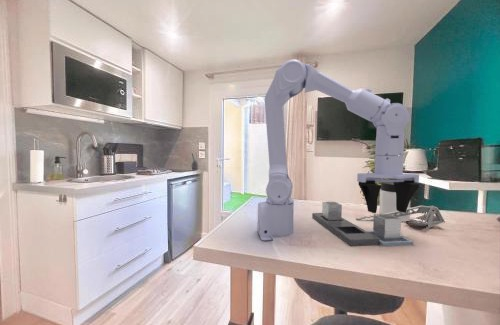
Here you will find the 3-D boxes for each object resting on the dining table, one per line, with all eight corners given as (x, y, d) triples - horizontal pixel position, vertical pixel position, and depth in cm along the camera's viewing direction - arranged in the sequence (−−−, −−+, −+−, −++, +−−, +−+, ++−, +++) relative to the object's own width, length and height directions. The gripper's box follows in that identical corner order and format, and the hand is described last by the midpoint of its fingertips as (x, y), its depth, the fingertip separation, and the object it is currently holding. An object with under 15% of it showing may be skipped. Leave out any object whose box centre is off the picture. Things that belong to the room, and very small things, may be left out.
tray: (382, 250, 50) (382, 242, 50) (362, 238, 57) (362, 231, 57) (413, 249, 51) (413, 241, 50) (389, 236, 58) (389, 230, 58)
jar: (395, 214, 79) (396, 181, 79) (415, 221, 71) (417, 184, 71) (373, 215, 78) (374, 181, 77) (391, 222, 70) (392, 185, 69)
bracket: (445, 223, 63) (429, 191, 64) (372, 249, 68) (357, 219, 68) (438, 220, 66) (423, 189, 67) (368, 245, 71) (354, 217, 71)
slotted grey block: (328, 225, 64) (328, 204, 63) (322, 221, 68) (322, 201, 67) (341, 225, 64) (341, 204, 64) (334, 221, 68) (335, 201, 68)
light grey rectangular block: (384, 244, 52) (385, 218, 51) (373, 238, 56) (373, 213, 55) (400, 244, 52) (401, 217, 52) (387, 237, 56) (388, 213, 56)
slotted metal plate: (350, 250, 50) (350, 239, 50) (312, 220, 72) (312, 213, 71) (379, 249, 50) (379, 238, 50) (332, 220, 72) (333, 212, 72)
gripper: (371, 155, 48) (369, 217, 49) (431, 156, 50) (428, 215, 50) (353, 155, 55) (351, 209, 56) (406, 155, 57) (404, 208, 57)
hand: (386, 211), depth 54 cm, fingers open, 7 cm apart
